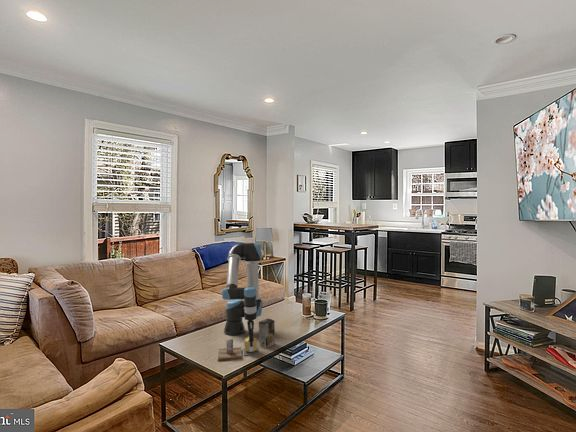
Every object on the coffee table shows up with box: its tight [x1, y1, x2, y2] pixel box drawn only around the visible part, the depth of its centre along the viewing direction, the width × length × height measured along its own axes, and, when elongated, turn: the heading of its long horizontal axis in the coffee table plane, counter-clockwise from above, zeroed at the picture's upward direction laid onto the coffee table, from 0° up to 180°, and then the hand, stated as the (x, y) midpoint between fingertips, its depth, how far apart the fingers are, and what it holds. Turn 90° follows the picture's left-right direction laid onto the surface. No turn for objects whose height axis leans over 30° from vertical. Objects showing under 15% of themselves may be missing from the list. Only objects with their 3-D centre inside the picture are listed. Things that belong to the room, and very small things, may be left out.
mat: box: [243, 346, 260, 357], centre depth 212 cm, size 10×9×1 cm
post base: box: [217, 338, 243, 362], centre depth 208 cm, size 14×14×10 cm
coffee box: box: [258, 318, 276, 349], centre depth 223 cm, size 9×6×16 cm
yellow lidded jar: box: [244, 336, 258, 351], centre depth 212 cm, size 8×8×7 cm
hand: (250, 348), depth 212 cm, fingers closed on yellow lidded jar, 7 cm apart
